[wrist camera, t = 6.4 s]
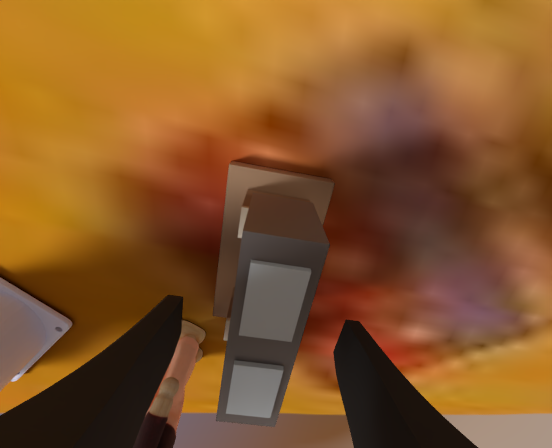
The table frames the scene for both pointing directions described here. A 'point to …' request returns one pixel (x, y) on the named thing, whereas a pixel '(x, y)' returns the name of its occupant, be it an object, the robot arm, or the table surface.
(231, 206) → the stand
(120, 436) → the robot arm
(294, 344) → the bar
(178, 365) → the grandmother figurine
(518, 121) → the table surface
